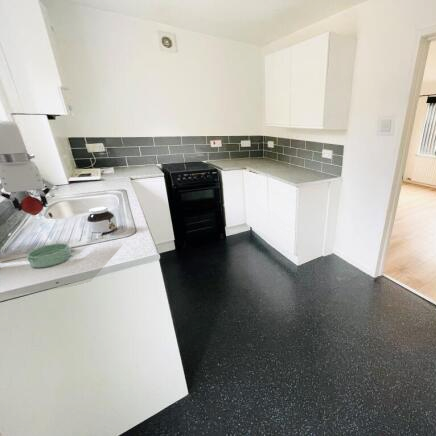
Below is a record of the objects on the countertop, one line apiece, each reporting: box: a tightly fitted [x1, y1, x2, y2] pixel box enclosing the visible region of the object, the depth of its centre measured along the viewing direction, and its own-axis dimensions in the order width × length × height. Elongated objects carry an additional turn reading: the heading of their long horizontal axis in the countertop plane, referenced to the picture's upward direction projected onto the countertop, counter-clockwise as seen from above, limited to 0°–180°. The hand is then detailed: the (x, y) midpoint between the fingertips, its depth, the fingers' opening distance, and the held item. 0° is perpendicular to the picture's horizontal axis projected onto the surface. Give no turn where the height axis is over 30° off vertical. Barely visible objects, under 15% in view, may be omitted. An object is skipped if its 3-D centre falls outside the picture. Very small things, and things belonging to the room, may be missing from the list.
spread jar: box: [86, 206, 118, 236], centre depth 116 cm, size 12×11×12 cm
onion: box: [19, 194, 44, 216], centre depth 91 cm, size 6×6×8 cm
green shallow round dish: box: [26, 242, 72, 269], centre depth 90 cm, size 11×11×4 cm
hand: (32, 207), depth 91 cm, fingers closed on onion, 5 cm apart
